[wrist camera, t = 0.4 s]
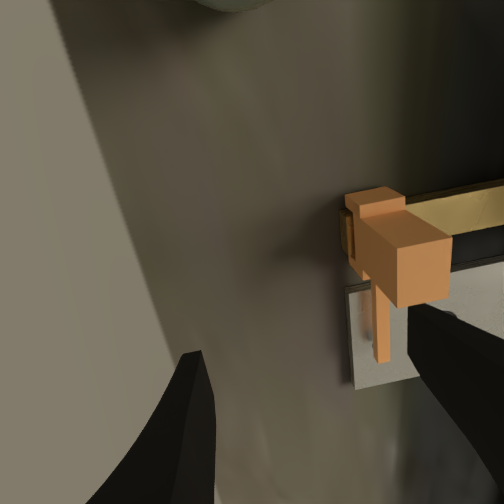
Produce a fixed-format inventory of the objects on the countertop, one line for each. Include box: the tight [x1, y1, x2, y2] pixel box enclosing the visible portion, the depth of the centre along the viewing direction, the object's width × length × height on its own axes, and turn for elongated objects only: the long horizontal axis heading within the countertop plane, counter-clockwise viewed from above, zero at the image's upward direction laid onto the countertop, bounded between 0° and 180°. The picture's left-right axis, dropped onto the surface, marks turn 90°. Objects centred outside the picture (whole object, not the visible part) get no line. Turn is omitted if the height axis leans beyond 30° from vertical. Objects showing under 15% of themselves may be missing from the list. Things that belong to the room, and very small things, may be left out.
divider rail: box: [339, 178, 504, 256], centre depth 20 cm, size 14×11×6 cm
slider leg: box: [345, 186, 453, 364], centre depth 20 cm, size 2×11×6 cm, turn 10°
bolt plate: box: [344, 255, 504, 390], centre depth 25 cm, size 14×8×1 cm, turn 100°
